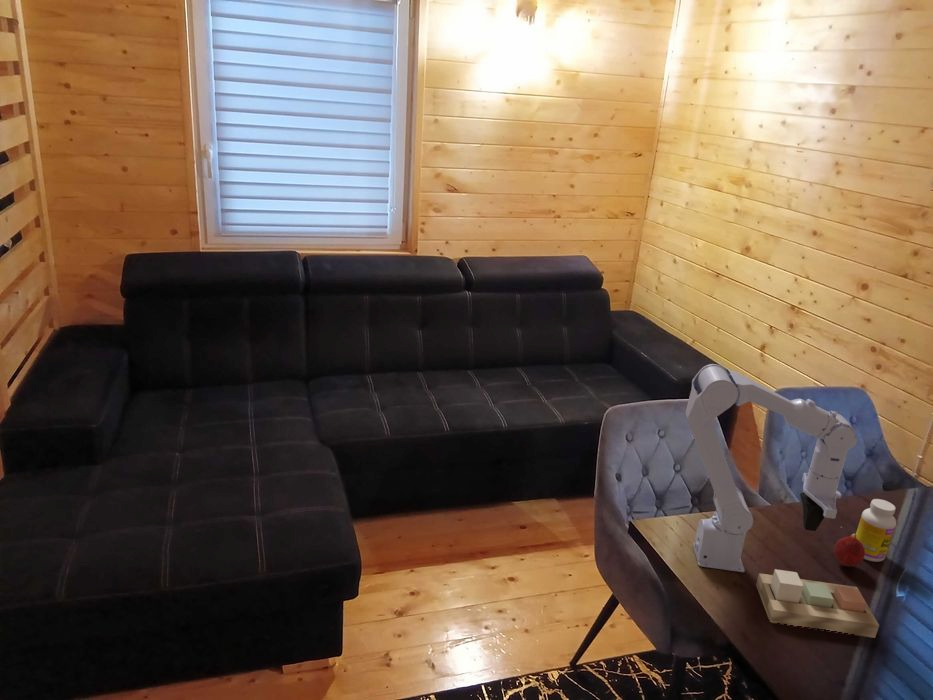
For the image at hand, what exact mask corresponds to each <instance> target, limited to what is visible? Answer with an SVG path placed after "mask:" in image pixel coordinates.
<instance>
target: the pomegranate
mask: <svg viewBox="0 0 933 700" xmlns="http://www.w3.org/2000/svg"><path fill="white" fill-rule="evenodd" d="M856 536H857V535H856V533H852V534H851V535H850V536H844V537H842V538H840V539H838V540H837V541H836V542H835V544H834V548H833V552H834V556H835V558H836V559H837V561H838V562H839V563H840V564H841V565H842V564H843V565H842V566H844V567H855V566H857V565H860V564H861V563H862V562H863V560H865V559H864V556H865V549H864V547H863V545H862V543H861V542H860V541H859V540H858V539H857V538H856Z"/></svg>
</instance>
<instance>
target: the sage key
mask: <svg viewBox="0 0 933 700" xmlns="http://www.w3.org/2000/svg"><path fill="white" fill-rule="evenodd" d="M802 595H803V597H804V599H805V601H806V603H807V605H812V606H819V607H826V608H831V607H832V603H833V600H834V598H833V597H832V595H831V593H830V591H829V589H828V587H827V585H824V584H817V583H810V582H804V584H803V589H802Z"/></svg>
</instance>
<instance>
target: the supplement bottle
mask: <svg viewBox="0 0 933 700" xmlns="http://www.w3.org/2000/svg"><path fill="white" fill-rule="evenodd" d="M869 506H870V507H869V508H866V509H864V510H863V511H862V513H861V517H860V519H859V523H858V525H857V530H856V532H855V534H856V535H857V536H856V538H857V539H858V540H859V541H860V542H861V543H862V545H863V547H864V549H865V556H864V559H863V560H866V561H870V562H874V563H875V562H877V563H878V562H883V561H884V560H885V559H886V556H887V553H888V550H889V548H890V544H891V541H892V538H893V535H894V533H895V529H896V527H897V526H896V525H897V520H896V518H895V517H894V515H895V512H896V506H895V505H894V504H893V503H891V502H889V501H887V500H885V499H882V498H881V499H880V498H873V499H872V500H871V502H870V504H869Z"/></svg>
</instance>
